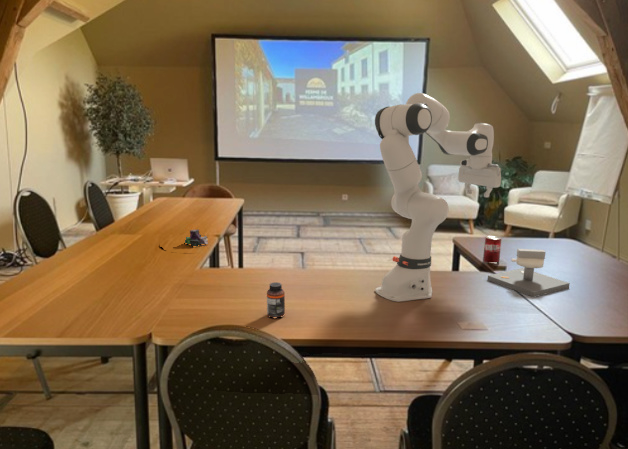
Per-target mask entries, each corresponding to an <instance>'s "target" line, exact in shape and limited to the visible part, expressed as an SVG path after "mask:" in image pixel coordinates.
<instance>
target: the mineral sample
mask: <svg viewBox="0 0 628 449" xmlns="http://www.w3.org/2000/svg"><path fill="white" fill-rule="evenodd" d="M189 234H190V235H189V236H190V237H186V240H185V243H187V244H191V245H192V246H198V245H200V244H208V245H209V242H208V241H209V240H208V237H207V236H208V235H207V236H206V235H203V236H204V237H201V236H202V234H200V229H191V230H189ZM192 246H191V247H192ZM200 246H201V245H200Z"/></svg>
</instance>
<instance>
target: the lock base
mask: <svg viewBox="0 0 628 449" xmlns="http://www.w3.org/2000/svg"><path fill="white" fill-rule="evenodd" d="M487 281H489V282H492V283H495V284H497V285H500V286H503V287H505V288H508V289H511V290H513V291H516V292H519V293H522V294H525V295H527V294H528V295H527V296H529V295H530V297H532V296H533V297H532V298H535V296H536V297H539V296H538V295H540V296H543V294H544V295H547V294H550V293H555V292H559V291H562V290H565V289H566V290H567V289H570V282H568V281H565V280H562V279H558V278H555V277H552V276H549V275H546V274H542V273H539V272H537V271H536V272H535V268H527V267H522V268H521V267H520V268H516V269H512V270H508V271H504V272H498V273H494V274H490V275H487Z"/></svg>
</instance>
